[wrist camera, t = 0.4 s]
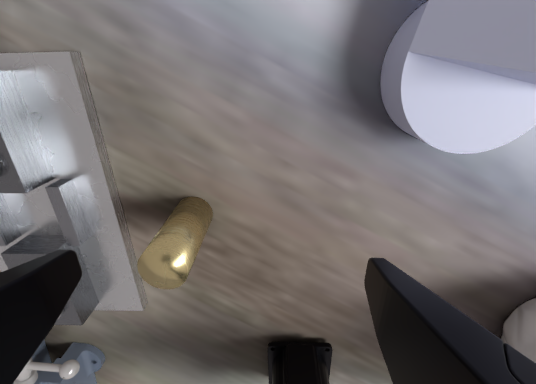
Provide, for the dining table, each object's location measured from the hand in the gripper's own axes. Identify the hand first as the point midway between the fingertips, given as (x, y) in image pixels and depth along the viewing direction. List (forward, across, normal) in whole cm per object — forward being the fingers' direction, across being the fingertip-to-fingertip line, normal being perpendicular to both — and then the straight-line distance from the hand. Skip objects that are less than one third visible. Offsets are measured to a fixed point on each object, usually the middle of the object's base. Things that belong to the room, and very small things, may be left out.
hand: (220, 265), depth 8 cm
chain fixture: (+13, +17, +4) cm, 22 cm away
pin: (+13, +5, +5) cm, 15 cm away
